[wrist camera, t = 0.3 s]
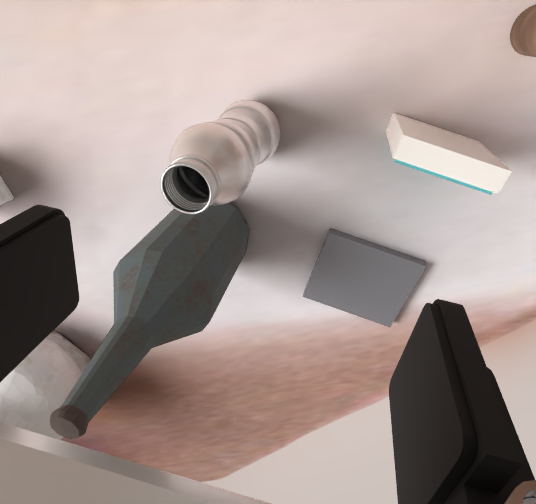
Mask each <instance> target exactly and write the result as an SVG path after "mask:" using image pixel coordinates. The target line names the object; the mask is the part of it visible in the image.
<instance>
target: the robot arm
mask: <svg viewBox="0 0 536 504" xmlns="http://www.w3.org/2000/svg"><path fill="white" fill-rule="evenodd" d="M78 302H79V291H78V283H77V275H76V267H75V259H74V251H73V243H72V235H71V227H70V221H69V219H68V218H67V217H66V216H65V214H64V212H63V211H62V210H60V209H56V208H52V207H48V206H43V205H36V206H33V207H31V208H30V209H28V210H26V211H24V212H22V213H20V214H18V215H17V216H15V217H13V218H11V219H9V220H7V221H5V222H4V223H2V224H0V382H1V381H2V380H3V379H4V378H5V377H6V376H7V375H8V374H9V373H10V372H12V371H13V370H14V369H15V368H16V367H17V366H18V365H19V364H20V363H21V362H22V361H23V360H24V359H25V358H26V357H27V356H28V355H29V354H30V353H31V352H32V351H33V350H34V349H35V348H36V347H37V346H38V345H39V344H40V343H41V342H42V341H43V340H44V339H45V338H46V337H47V336H48V335H49V334H50V333H51V332H52V331H53V330H54V329H55V328H56V327H57V326H58V325H59V324H60V323H61V322H63V321H64V320H65V319H66V318H67V317H68V316H69V315H70V314H71V313H72V312H73V311H74V310H75V308H76V307H77V305H78ZM389 399H390V411H391V423H392V435H393V447H394V459H395V470H396V482H397V495H398V504H536V480H535V478H534V476H533V474H532V471H531V468H530V466H529V463H528V461H527V458H526V455H525V453H524V451H523V448H522V445H521V443H520V440H519V438H518V435H517V433H516V430H515V428H514V425H513V422H512V420H511V417H510V415H509V412H508V410H507V407H506V404H505V402H504V399H503V397H502V394H501V392H500V389H499V387H498V384H497V382H496V379H495V377H494V375H493V373H492V371H491V370H490V369H489V368H487V367H486V364H485V361H484V359H483V356H482V354H481V351H480V348H479V346H478V343H477V340H476V338H475V335H474V332H473V330H472V327H471V325H470V322H469V319H468V317H467V314H466V311H465V309H464V307H463V305H461V304H456V303H452V302H448V301H444V300H439V299H437V300H435V301H434V303H433V304H431V303H426V304H425V306H424V308H423V310H422V312H421V314H420V316H419V319H418V321H417V323H416V325H415V327H414V330H413V332H412V334H411V336H410V338H409V341H408V343H407V345H406V347H405V349H404V352H403V354H402V356H401V358H400V360H399V363H398V365H397V367H396V369H395V371H394V374H393V376H392V378H391V381H390V386H389ZM0 504H270V503H267V502H264V501H260V500H257V499H254V498H251V497H247V496H244V495H240V494H237V493H234V492H231V491H227V490H224V489H221V488H218V487H214V486H211V485H208V484H205V483H201V482H198V481H195V480H192V479H188V478H185V477H182V476H178V475H175V474H172V473H169V472H165V471H162V470H159V469H155V468H152V467H149V466H145V465H142V464H139V463H135V462H132V461H129V460H125V459H122V458H119V457H115V456H112V455H109V454H105V453H102V452H99V451H95V450H92V449H88V448H85V447H82V446H78V445H75V444H72V443H68V442H65V441H62V440H58V439H55V438H52V437H48V436H45V435H42V434H38V433H35V432H31V431H28V430H25V429H21V428H18V427H14V426H11V425H8V424H4V423H1V422H0Z"/></svg>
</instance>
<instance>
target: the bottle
mask: <svg viewBox="0 0 536 504" xmlns="http://www.w3.org/2000/svg"><path fill="white" fill-rule="evenodd" d="M248 234H249V228H248V226H247V224H246V223H245V221H244V219H243V217H242V215H241V214H240V212H239V210H238V208H237V207H236V206H234V205H232V204H230V203H226V204H222V205H210V206H209V207H208V208H207V209H206V210H204V211H203V212H200V213H198V214H185V213H182V212H180V211H178V210H176V209H173V210H172V211H171V212H170V213H169V214H168V215H167V216H166V217H165V218H164V219H163V220H162V221H161V222H160V223H159V224H158V225H157V226H156V227H155V228H154V229H153V230H151V231H150V232H149V233H148V234H147V235H146V236H145V237H144V238H143V239H142V240H141V241H140V242H139V243H138V244H137V245H136V246H135V247H134V248H133V249H132V250H131V251H130V252H129V253H127V254H126V255H125V256H124V257H123V258H122V259H121V260H120V262H119V263H118V265H117V267H116V268H115V270H114V325H113V327H112V328H111V330H110V331H109V333H108V334H107V336H106V337H105V339H104V340H103V342H102V344H101V345H100V347H99V348H98V350H97V351H96V353H95V354H94V356H93V358H92V359H91V361H90V362H89V364H88V365H87V367H86V368H85V370H84V371H83V373H82V375H81V376H80V378H79V379H78V381H77V382H76V384H75V385H74V387H73V389H72V390H71V392H70V393H69V395H68V396H67V398H66V399H65V401H64V402H63V404H62V406H61V407H59V408H58V409H56V410H55V411H53V412H52V413H51V415H50V425H51V428H52V429H53V430H54V431H55V432H56V433H57V434H59V435H61V436H63V437H65V438H68V439H74V438H78V437H80V436H82V435H84V434H85V432H86V429H87V425H88V423H89V421H90V420H91V419H92V418H93V417H94V415H95V414H96V413H97V412H98V411H99V410H100V408H101V407H102V406H103V405H104V404H105V402H106V401H107V400H108V399H109V398H110V397H111V395H112V394H113V393H114V392H115V391H116V389H117V388H118V387H119V386H120V385H121V384H122V382H123V381H124V380H125V379H126V378H127V376H128V375H129V374H130V373H131V372H132V371H133V369H134V368H135V367H136V366H137V365H138V363H139V362H140V361H141V360H142V359H143V358H144V356H145V355H146V354H147V353H148V352H149V350H150V349H151V348H153V347H156V346H159V345H162V344H165V343H168V342H171V341H174V340H177V339H180V338H183V337H186V336H189V335H192V334H195V333H198V332H201V331H202V330H203V329H204V328H205V327H206V326H207V324H208V323H209V322H210V320H211V318H212V316H213V314H214V312H215V311H216V309H217V307H218V305H219V303H220V301H221V299H222V297H223V295H224V293H225V291H226V289H227V287H228V285H229V283H230V281H231V279H232V277H233V276H234V274H235V272H236V270H237V268H238V266H239V264H240V262H241V260H242V258H243V256H244V254H245V252H246V248H247V241H248Z"/></svg>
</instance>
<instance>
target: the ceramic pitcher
mask: <svg viewBox="0 0 536 504" xmlns="http://www.w3.org/2000/svg"><path fill="white" fill-rule="evenodd" d="M90 361H91V359H90V357H89V356H87V355H86V354H85V353H83V352H82V351H81V350H80V349H78V348H77V347H76V346H74V345H73V344H72V343H71V342H69V341H68V340H67V339H66V338H65V337H63V336H62V335H61V334H59V333H57V332H54V331H52V332H51V333H50V334H49V335H48V336H47V337H46V338H45V339H44V340H43V341H42V342H41V343H40V344H39V345H38V346H37V347H36V348H35V349H34V350H33V351H32V352H31V353H30V354H29V355H28V356H27V357H26V358H25V359H24V360H23V361H22V362H21V363H20V364H19V365H18V366H17V367H16V368H15V369H14V370H13V371H12V372H10V373H9V374H8V375H7V376H6V377H5V378H4V379H3V380H2V381H1V382H0V422H1V423H4V424H8V425H11V426H14V427H18V428H21V429H25V430H28V431H31V432H35V433H38V434H42V435H45V436H48V437H52V438H55V439H58V440H60V439H62V438H63V436H61V435H59V434H57V433H56V432H55V431H54V430H53V429H52V428H51V425H50V415H51V413H52V412H53V411H55V410H56V409H58V408H59V407H61V406H62V404H63V402H64V401H65V399H66V398H67V396H68V395H69V393H70V392H71V390H72V389H73V387H74V385H75V384H76V382H77V381H78V379H79V378H80V376H81V375H82V373H83V371H84V370H85V368H86V367H87V365H88V364H89V362H90Z"/></svg>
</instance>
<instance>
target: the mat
mask: <svg viewBox="0 0 536 504" xmlns="http://www.w3.org/2000/svg"><path fill="white" fill-rule="evenodd" d="M426 267H427V266H426V263H425V261H423V260H420V259H417V258H414V257H411V256H408V255H405V254H402V253H400V252H397V251H394V250H391V249H388V248H385V247H382V246H379V245H376V244H374V243H371V242H368V241H365V240H362V239H359V238H356V237H353V236H351V235H348V234H345V233H342V232H339V231H336V230H333V229H330V230H329V233H328V235H327V237H326V240H325V242H324V245H323V247H322V249H321V252H320V254H319V257H318V259H317V262H316V264H315V266H314V269H313V271H312V274H311V276H310V278H309V281H308V283H307V286H306V288H305V290H304V294H303V297H306V298H309V299H311V300H314V301H317V302H320V303H323V304H326V305H328V306H331V307H334V308H337V309H340V310H343V311H345V312H348V313H351V314H354V315H357V316H359V317H362V318H365V319H368V320H371V321H374V322H376V323H379V324H382V325H385V326H388V327H391V325H392V323H393V322H394V320H395V318H396V317H397V315H398V313H399V312H400V310H401V308H402V307H403V305H404V303H405V302H406V300H407V298H408V297H409V295H410V293H411V292H412V290H413V288H414V287H415V285H416V283H417V282H418V280H419V278H420V277H421V275H422V273H423V272H424V270H425V268H426Z"/></svg>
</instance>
